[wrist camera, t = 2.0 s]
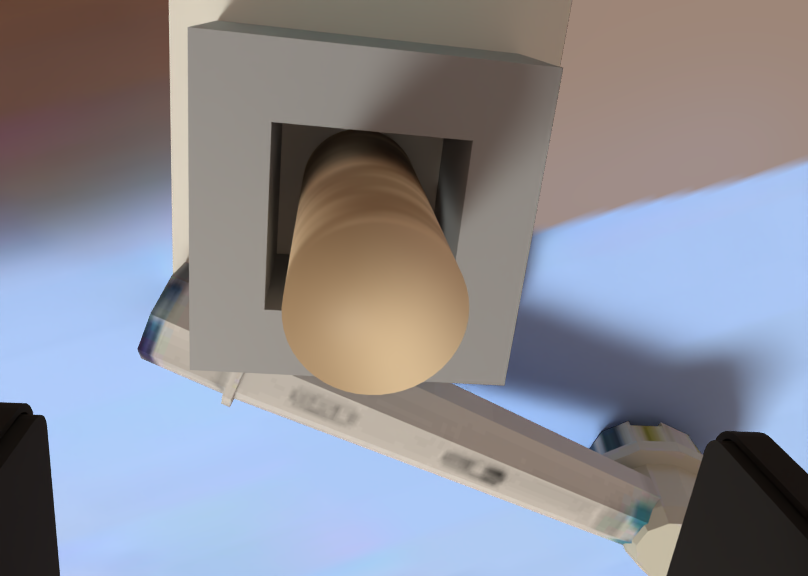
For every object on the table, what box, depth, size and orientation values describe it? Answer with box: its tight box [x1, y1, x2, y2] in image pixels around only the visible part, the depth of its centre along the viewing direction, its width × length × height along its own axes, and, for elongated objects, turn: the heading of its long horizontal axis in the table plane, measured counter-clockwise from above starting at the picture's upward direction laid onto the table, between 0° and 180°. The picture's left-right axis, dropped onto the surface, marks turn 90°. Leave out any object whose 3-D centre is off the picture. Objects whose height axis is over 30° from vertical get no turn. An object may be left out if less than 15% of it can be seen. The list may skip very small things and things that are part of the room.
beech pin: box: [282, 129, 469, 395], centre depth 20 cm, size 4×4×11 cm
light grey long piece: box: [138, 262, 703, 576], centre depth 28 cm, size 5×7×25 cm
